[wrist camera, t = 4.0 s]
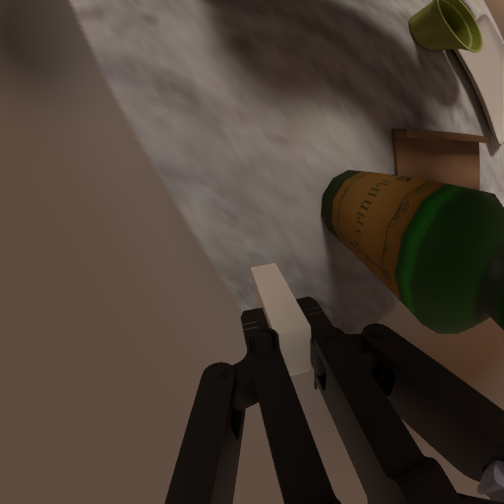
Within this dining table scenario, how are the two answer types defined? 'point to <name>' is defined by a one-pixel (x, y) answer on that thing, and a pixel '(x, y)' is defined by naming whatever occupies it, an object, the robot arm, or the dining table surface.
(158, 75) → the dining table surface
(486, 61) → the salad plate
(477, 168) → the cradle
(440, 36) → the plant pot
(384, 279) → the bottle
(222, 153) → the dining table surface
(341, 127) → the dining table surface
